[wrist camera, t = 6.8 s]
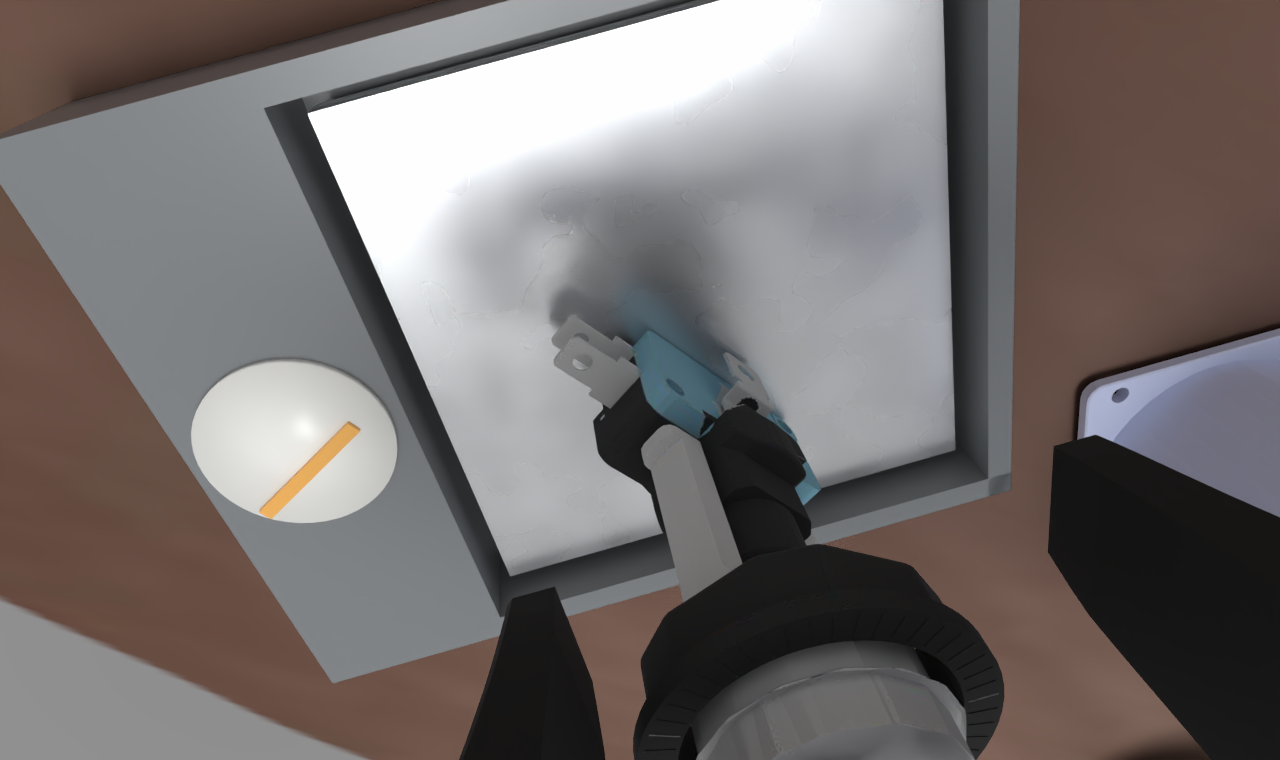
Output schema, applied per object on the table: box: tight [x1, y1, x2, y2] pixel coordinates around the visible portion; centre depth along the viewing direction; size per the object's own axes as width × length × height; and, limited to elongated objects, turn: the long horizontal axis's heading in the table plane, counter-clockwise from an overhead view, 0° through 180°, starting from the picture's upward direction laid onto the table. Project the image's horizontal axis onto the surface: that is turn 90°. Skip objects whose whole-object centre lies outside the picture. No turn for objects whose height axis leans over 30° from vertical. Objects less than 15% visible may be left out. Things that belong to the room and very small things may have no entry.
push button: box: [551, 316, 1004, 760], centre depth 15 cm, size 7×5×10 cm
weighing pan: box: [308, 0, 955, 576], centre depth 18 cm, size 12×12×1 cm
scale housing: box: [0, 0, 1020, 683], centre depth 19 cm, size 18×14×4 cm
